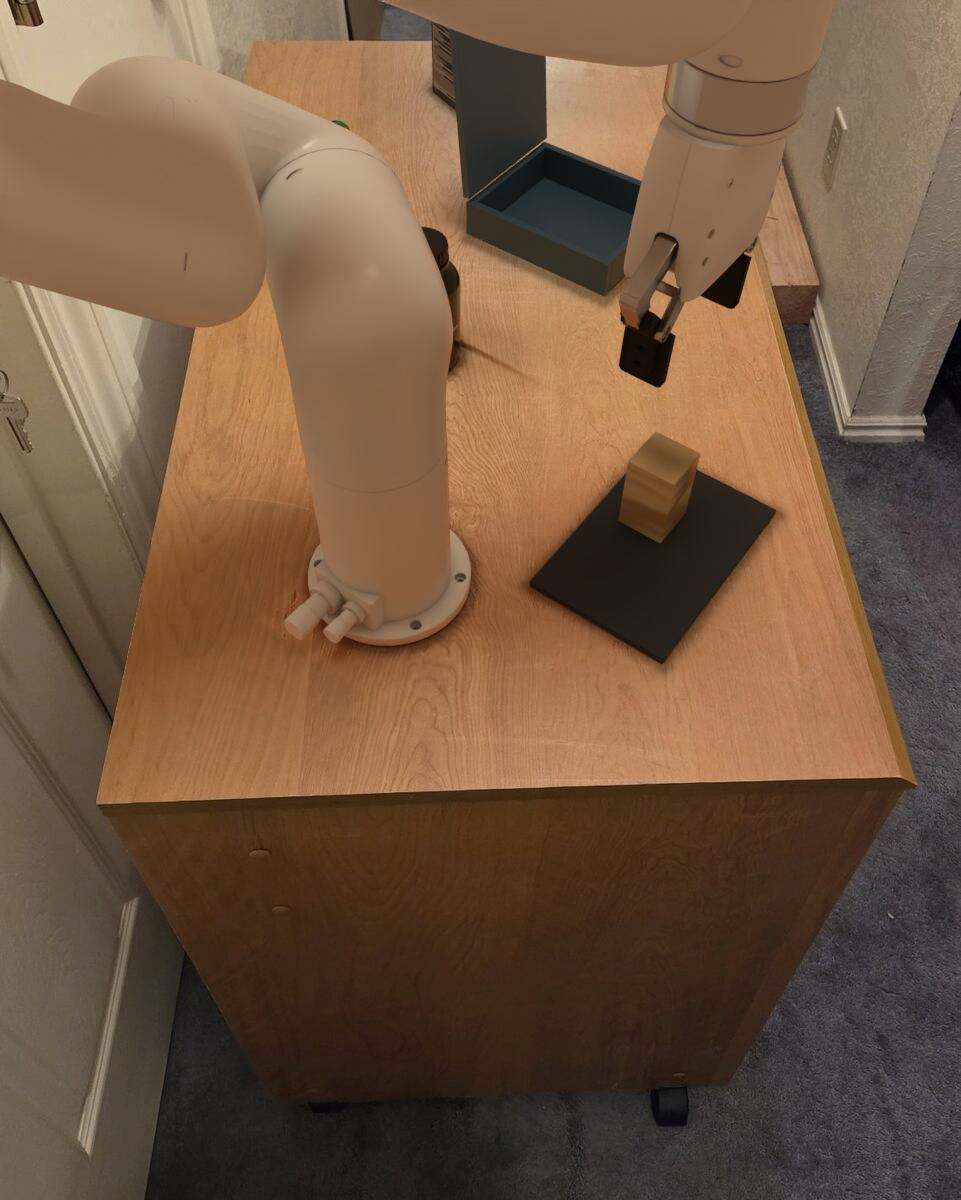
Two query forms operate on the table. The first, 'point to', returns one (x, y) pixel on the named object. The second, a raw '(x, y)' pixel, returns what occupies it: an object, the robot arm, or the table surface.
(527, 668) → the table surface
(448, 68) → the small box
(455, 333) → the supplement bottle
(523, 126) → the lunchbox lid
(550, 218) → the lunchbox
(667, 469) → the block
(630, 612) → the mat
